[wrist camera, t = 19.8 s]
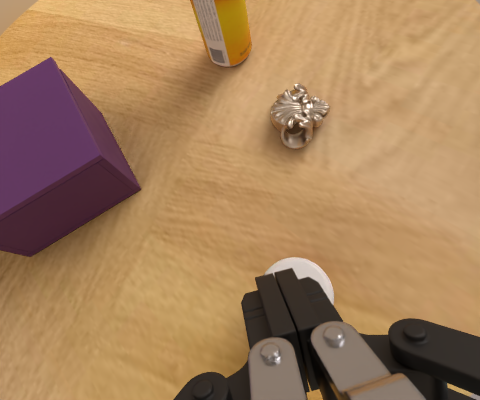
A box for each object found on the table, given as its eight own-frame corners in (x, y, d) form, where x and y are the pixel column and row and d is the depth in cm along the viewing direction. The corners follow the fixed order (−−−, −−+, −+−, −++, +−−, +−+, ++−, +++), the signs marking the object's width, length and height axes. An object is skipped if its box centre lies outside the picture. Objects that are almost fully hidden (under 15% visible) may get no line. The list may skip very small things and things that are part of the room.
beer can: (257, 37, 47) (242, -82, 33) (245, 73, 46) (223, -36, 31) (216, 31, 49) (184, -85, 34) (202, 66, 47) (164, -41, 33)
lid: (-68, 133, 38) (-76, 129, 37) (55, 61, 39) (50, 56, 38) (-36, 242, 33) (-43, 240, 32) (104, 158, 34) (100, 154, 33)
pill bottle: (261, 272, 37) (248, 255, 26) (318, 264, 36) (329, 243, 26) (269, 334, 35) (259, 341, 24) (331, 326, 34) (347, 331, 24)
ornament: (332, 146, 40) (336, 131, 37) (274, 153, 41) (272, 138, 38) (323, 89, 43) (326, 70, 40) (268, 97, 44) (266, 78, 40)
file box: (0, 171, 46) (-64, 140, 38) (101, 112, 47) (60, 68, 39) (30, 257, 42) (-35, 242, 33) (141, 189, 42) (104, 158, 34)
